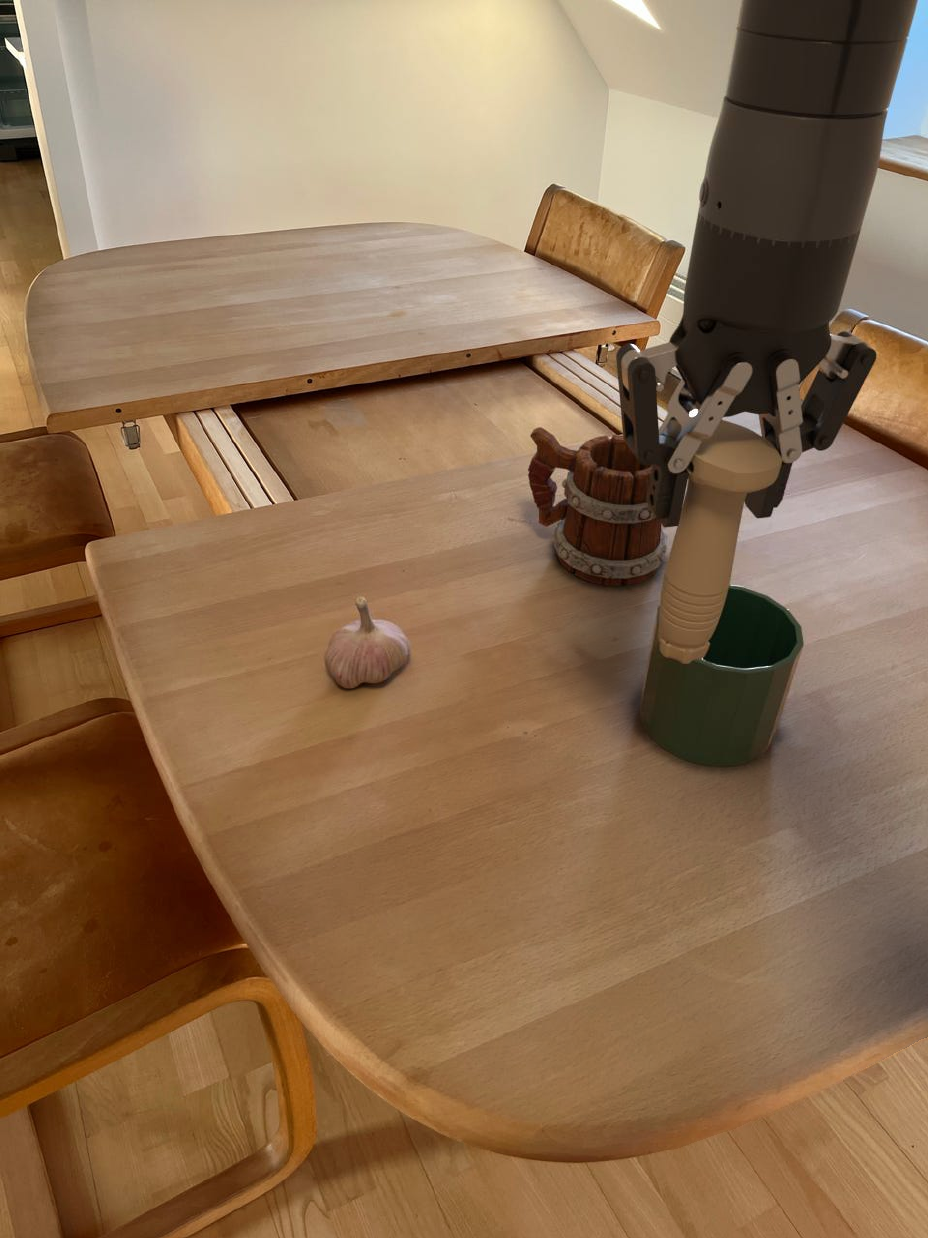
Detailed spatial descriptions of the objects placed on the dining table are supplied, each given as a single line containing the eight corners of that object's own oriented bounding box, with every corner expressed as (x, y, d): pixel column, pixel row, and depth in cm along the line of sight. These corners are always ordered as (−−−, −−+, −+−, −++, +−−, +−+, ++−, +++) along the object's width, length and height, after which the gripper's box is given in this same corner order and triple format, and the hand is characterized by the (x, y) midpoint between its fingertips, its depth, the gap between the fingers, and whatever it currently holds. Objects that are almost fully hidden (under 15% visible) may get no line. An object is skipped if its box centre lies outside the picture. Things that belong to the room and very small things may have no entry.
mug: (663, 601, 90) (659, 460, 82) (522, 590, 96) (505, 456, 87) (683, 539, 99) (682, 406, 91) (554, 532, 104) (541, 405, 96)
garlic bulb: (330, 703, 79) (323, 629, 74) (321, 648, 84) (314, 576, 79) (418, 691, 80) (418, 618, 75) (403, 638, 86) (402, 566, 81)
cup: (797, 757, 75) (829, 663, 69) (667, 775, 73) (689, 680, 67) (739, 668, 83) (763, 577, 77) (621, 682, 82) (637, 590, 75)
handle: (680, 612, 64) (723, 412, 55) (742, 668, 60) (800, 461, 50) (622, 631, 62) (656, 428, 53) (681, 691, 58) (730, 480, 49)
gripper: (667, 240, 40) (616, 564, 51) (963, 227, 43) (855, 539, 53) (609, 192, 46) (574, 493, 56) (873, 184, 48) (792, 473, 59)
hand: (711, 514), depth 55 cm, fingers closed on handle, 5 cm apart
